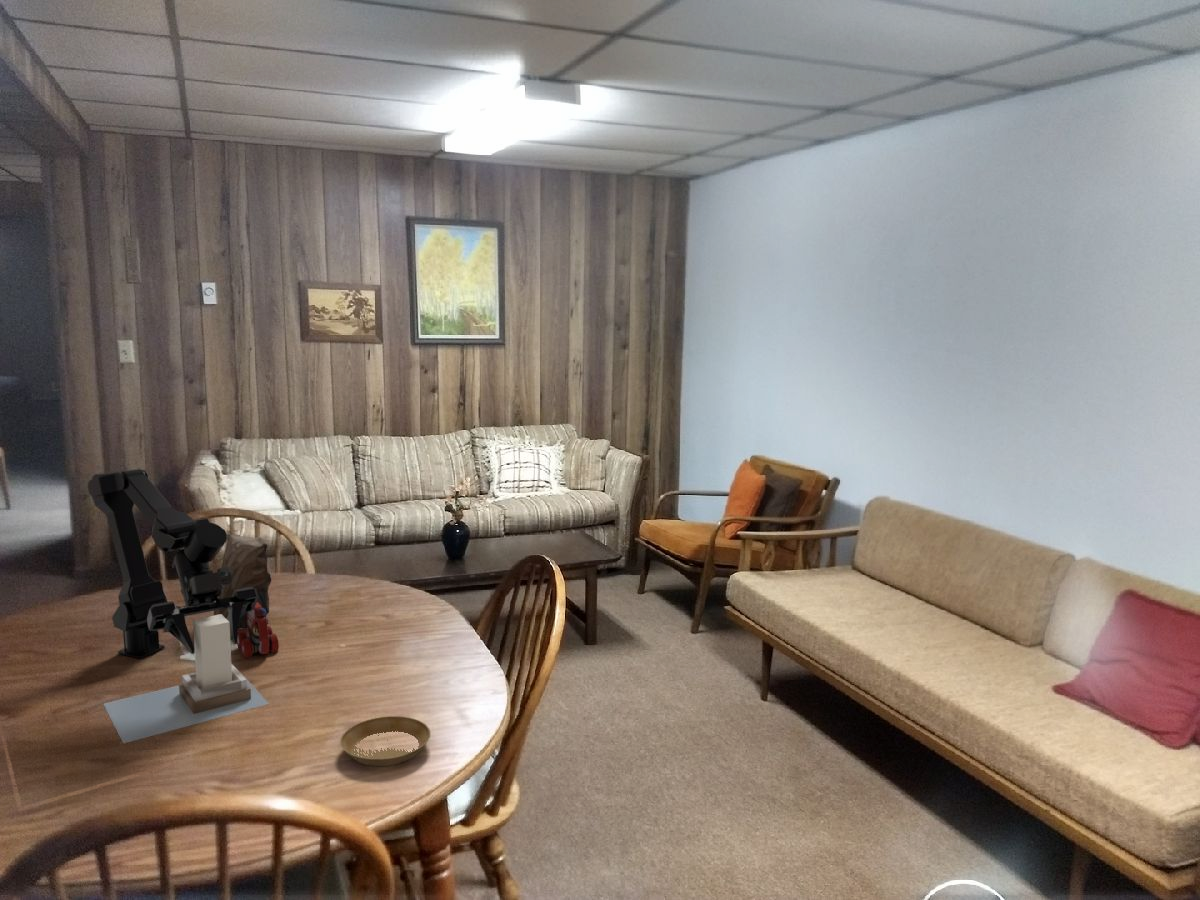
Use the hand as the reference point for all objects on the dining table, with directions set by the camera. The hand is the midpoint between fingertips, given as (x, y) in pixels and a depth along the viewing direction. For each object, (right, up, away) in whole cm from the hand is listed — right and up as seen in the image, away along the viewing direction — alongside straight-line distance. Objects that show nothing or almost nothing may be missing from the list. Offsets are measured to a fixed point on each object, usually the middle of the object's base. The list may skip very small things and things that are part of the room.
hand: (214, 648), depth 155 cm
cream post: (-1, -8, +2) cm, 8 cm away
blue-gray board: (-5, -11, 0) cm, 12 cm away
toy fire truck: (-2, -7, +25) cm, 26 cm away
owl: (-14, -4, +41) cm, 43 cm away
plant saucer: (+35, -14, -13) cm, 40 cm away
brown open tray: (-1, -10, +3) cm, 10 cm away
